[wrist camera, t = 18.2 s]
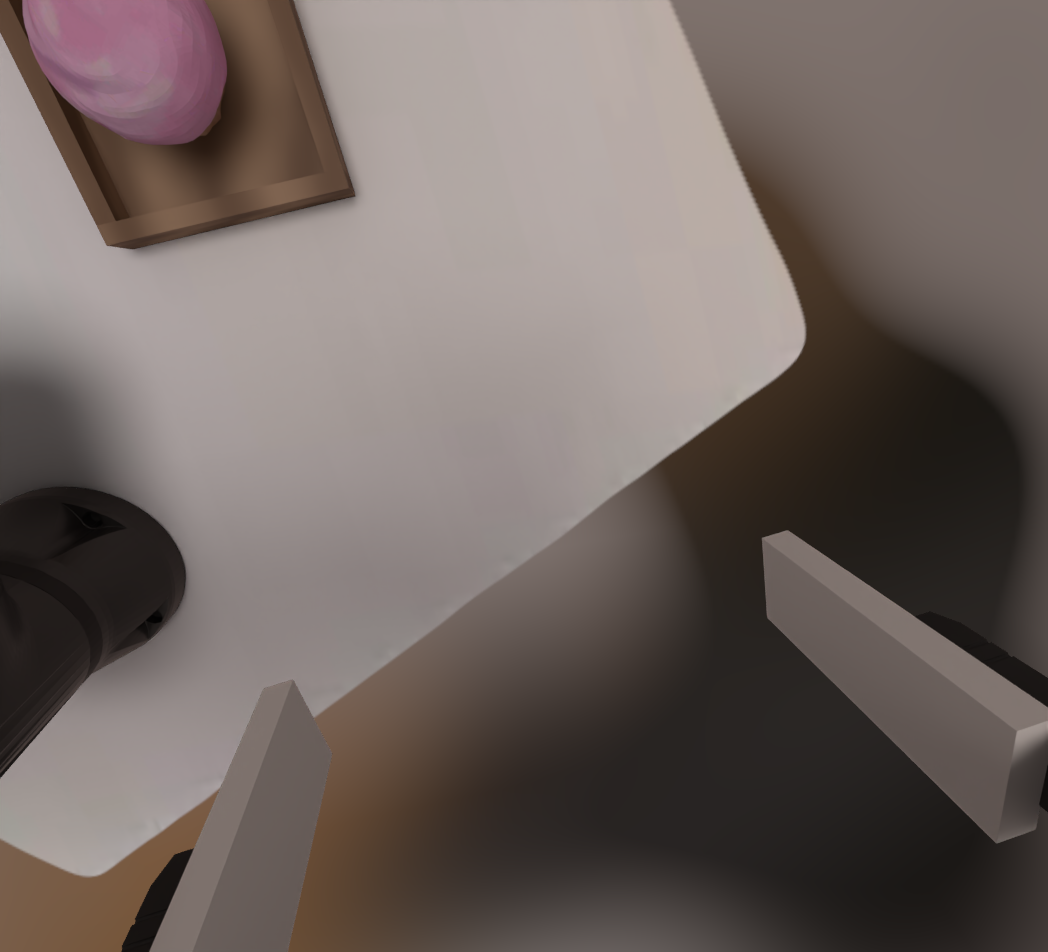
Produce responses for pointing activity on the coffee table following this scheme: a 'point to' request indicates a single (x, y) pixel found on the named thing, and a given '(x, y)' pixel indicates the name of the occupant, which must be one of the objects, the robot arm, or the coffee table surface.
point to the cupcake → (133, 63)
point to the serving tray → (205, 137)
